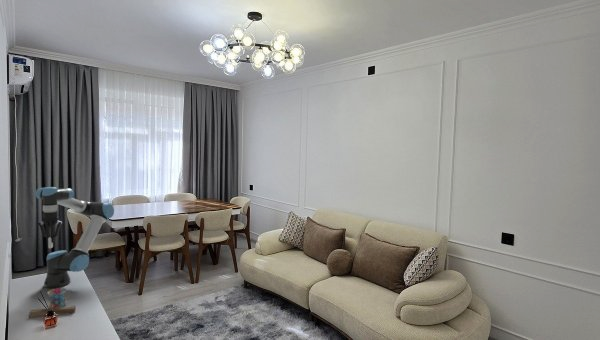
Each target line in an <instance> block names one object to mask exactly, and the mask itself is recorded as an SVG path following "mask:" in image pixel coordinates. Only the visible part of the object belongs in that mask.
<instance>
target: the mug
mask: <svg viewBox="0 0 600 340" xmlns="http://www.w3.org/2000/svg"><path fill="white" fill-rule="evenodd" d="M67 292H69V294H68V296H67V297H66V298H65V295H66V293H67ZM71 294H72V290H70V289H67V288H65V287H57V288H52V289H50V290H48V291H47V295H48V298H49V302H50V303H49V306H48V308H52V306H53V308H58V307H67V306H66V305H67V304H66V301H67V299H68V298H69V297H70V296H71Z"/></svg>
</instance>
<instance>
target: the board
mask: <svg viewBox="0 0 600 340" xmlns="http://www.w3.org/2000/svg"><path fill="white" fill-rule="evenodd" d="M76 309H77V308H76V305H72V306H65V307H58V308H53V311H54V312H55V313H56V314H61V315H71V314H74V313H76ZM51 310H52V308H49V307H48V308H41V309H40V308H37V309H31V310H30V311H29V312H28V314H29V315H28V316H29V318H36V317H37V318H38V317H39V318H40V317H46V316H45V315H46V314H47V312H48V311H51Z"/></svg>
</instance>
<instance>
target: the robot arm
mask: <svg viewBox="0 0 600 340" xmlns="http://www.w3.org/2000/svg"><path fill="white" fill-rule="evenodd" d="M34 194H35V197H36V198H37V199H38V200H42V220H41V221H39V222H37V225H38V226H39V228H40V231H41V235H42V237H43V238H45V239H46V243H47V244H48V245H47V246H48V249H52V248H53V247H54V243H55V241H56V239H55V238H56V237H58V236H59V232H60V230H61V226H62V224H64V223H63V221H61V220H59V218H58V216H59V215H58V205H60V206H63V207H65V208H67V209H71V210H74V212H76V214H77V213H78V214H80V215H83V216H86V217H89V218H90V219H89V222H88V223H87V225H86V227H85V229H84V231H83V233H82V234H81V236H80V238H79V240H78V241H77V243H76V246H75V247H74V248H72V249H71V250H70V251H69V253H68V251H67V250H66V249H65V250H56V251H53V252H49V253H48V254H47V256H46V277H45V280H44V282H43V287H44V288H46V289H56V288H63V287H65V286H68V285H69V284H70V283H71V277H70V274H69V272H73V273H77V272H78V273H79V272H82V271H84V270H86V268H88V265H90V264H89V263H90V254H89V250H90V249H91V247H92V245H93V243H94V241H95V239H96V237H97V235H98V233H99V231H100V229H101V227H102V226H103V224H104V223H106V222H107V221H108V219H111V218H112V217H114V214H115V208H114V205H113V204H112V203H109V202H98V201H97V202H96V201H85V200H79V199H78V198H77V199H76V198H74V195H75V194H74V190H73V189H72V188H70V187H69V188H68V187H66V188H58V187H55V186H49V187H46V186H45V187H40V188H37V189H36V191H35V193H34Z"/></svg>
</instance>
